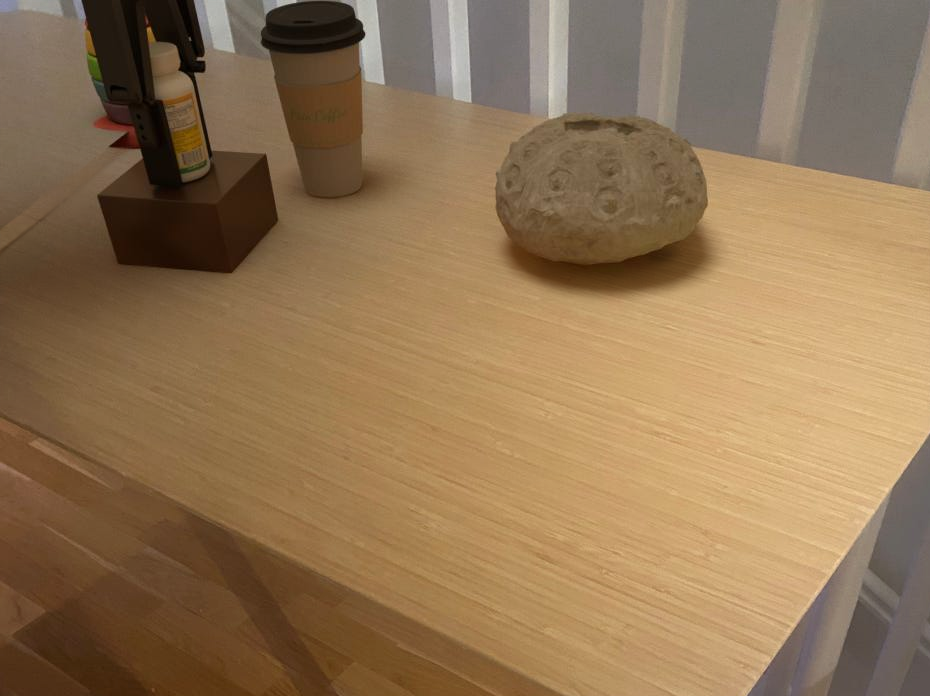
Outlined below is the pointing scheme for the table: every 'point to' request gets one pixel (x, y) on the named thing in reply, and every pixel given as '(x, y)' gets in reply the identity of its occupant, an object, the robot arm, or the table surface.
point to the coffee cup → (320, 90)
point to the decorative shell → (599, 188)
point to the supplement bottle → (179, 110)
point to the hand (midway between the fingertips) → (181, 169)
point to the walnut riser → (191, 215)
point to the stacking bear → (116, 111)
